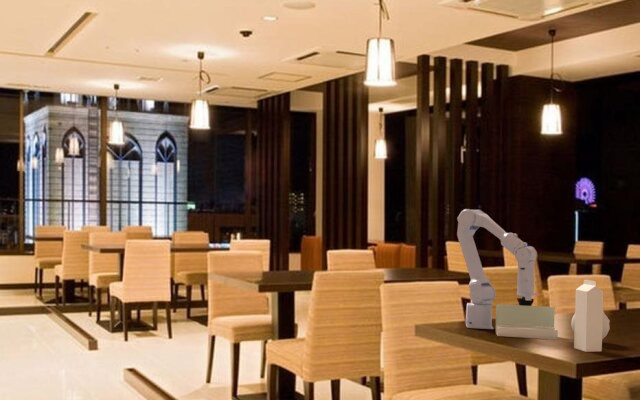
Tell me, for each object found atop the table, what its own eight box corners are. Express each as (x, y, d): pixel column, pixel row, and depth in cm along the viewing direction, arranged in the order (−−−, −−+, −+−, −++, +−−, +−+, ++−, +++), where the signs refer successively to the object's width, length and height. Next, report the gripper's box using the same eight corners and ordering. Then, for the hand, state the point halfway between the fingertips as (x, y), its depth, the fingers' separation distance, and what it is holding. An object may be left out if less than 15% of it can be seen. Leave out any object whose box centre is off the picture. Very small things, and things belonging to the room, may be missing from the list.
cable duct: (497, 335, 250) (497, 327, 250) (495, 332, 257) (495, 324, 257) (557, 339, 248) (557, 330, 248) (553, 336, 255) (554, 327, 255)
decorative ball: (612, 346, 237) (613, 310, 237) (574, 344, 239) (575, 308, 239) (604, 340, 249) (605, 305, 249) (568, 338, 251) (569, 303, 251)
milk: (585, 352, 226) (587, 281, 226) (573, 348, 232) (575, 279, 232) (602, 351, 228) (604, 281, 228) (589, 347, 233) (591, 279, 234)
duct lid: (496, 304, 258) (496, 304, 258) (495, 324, 257) (495, 323, 258) (554, 307, 255) (554, 307, 256) (554, 327, 255) (553, 327, 255)
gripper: (540, 282, 250) (540, 322, 250) (533, 279, 265) (533, 316, 264) (519, 281, 251) (519, 321, 251) (514, 278, 265) (513, 315, 265)
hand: (525, 318), depth 258 cm, fingers closed, pressing on duct lid
